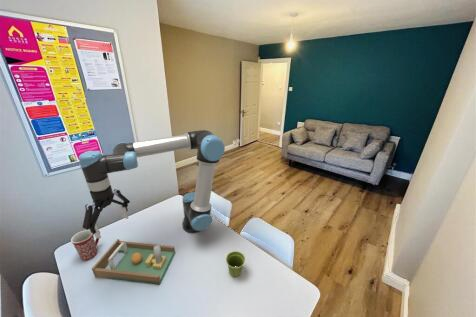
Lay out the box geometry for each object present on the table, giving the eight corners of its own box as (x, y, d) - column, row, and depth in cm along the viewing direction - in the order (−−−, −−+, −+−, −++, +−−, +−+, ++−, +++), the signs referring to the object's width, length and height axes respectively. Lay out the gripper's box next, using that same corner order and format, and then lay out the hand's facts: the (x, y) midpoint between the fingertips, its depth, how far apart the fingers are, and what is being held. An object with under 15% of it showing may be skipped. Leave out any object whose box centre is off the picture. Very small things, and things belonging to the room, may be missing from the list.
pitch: (175, 253, 107) (173, 240, 103) (159, 284, 90) (156, 271, 87) (119, 247, 110) (116, 235, 106) (95, 277, 93) (89, 263, 90)
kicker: (166, 258, 101) (163, 242, 96) (160, 269, 95) (157, 252, 91) (151, 257, 101) (148, 241, 97) (145, 267, 96) (141, 251, 92)
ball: (143, 256, 102) (141, 249, 100) (142, 264, 98) (140, 256, 96) (132, 259, 100) (130, 252, 99) (131, 267, 96) (129, 260, 94)
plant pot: (247, 266, 100) (247, 254, 97) (241, 283, 92) (241, 270, 88) (230, 261, 103) (230, 249, 99) (223, 276, 94) (222, 264, 91)
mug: (86, 264, 99) (78, 245, 94) (74, 259, 102) (66, 239, 97) (109, 246, 110) (103, 227, 105) (97, 241, 113) (91, 223, 108)
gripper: (120, 173, 93) (130, 209, 101) (60, 201, 72) (78, 244, 80) (131, 176, 90) (140, 212, 99) (72, 206, 69) (90, 250, 77)
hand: (112, 227), depth 89 cm, fingers open, 13 cm apart
